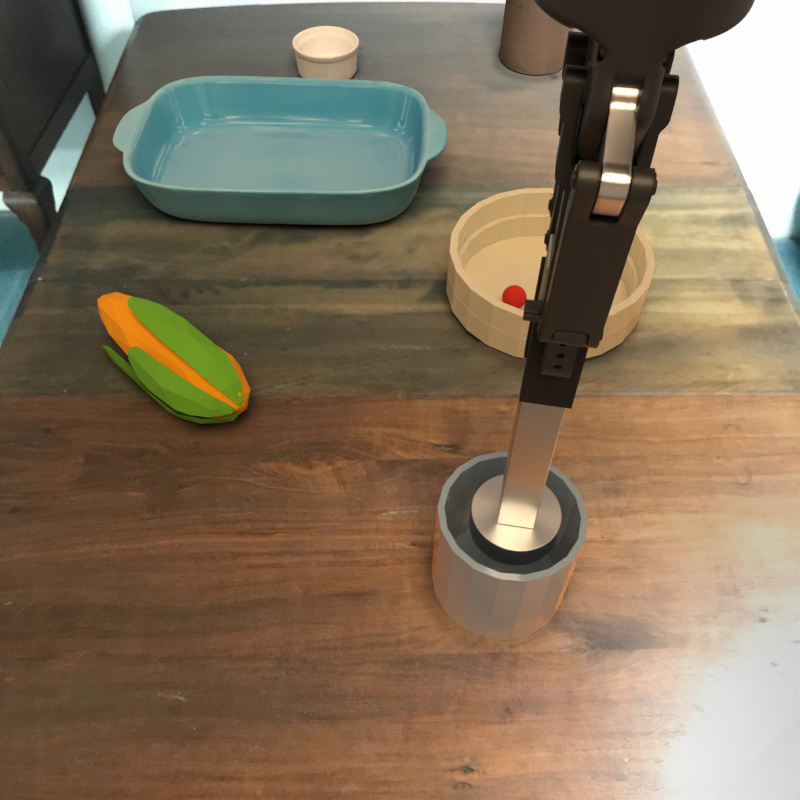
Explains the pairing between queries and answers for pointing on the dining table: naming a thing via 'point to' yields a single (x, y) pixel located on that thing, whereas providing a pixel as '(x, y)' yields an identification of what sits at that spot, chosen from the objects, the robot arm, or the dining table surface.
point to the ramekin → (326, 52)
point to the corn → (174, 360)
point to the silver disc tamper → (522, 486)
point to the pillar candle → (531, 39)
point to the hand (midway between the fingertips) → (547, 376)
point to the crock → (493, 581)
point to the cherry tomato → (514, 296)
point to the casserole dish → (280, 149)
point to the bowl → (525, 271)
